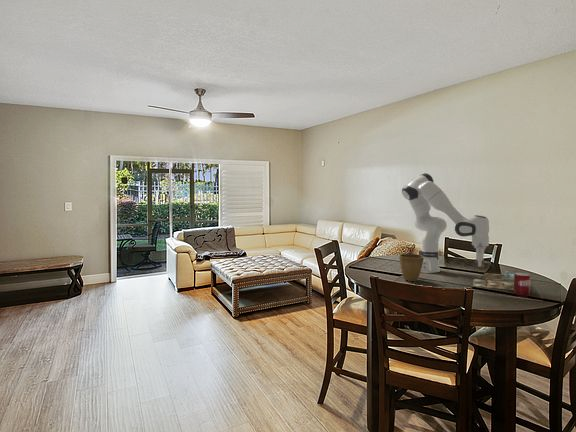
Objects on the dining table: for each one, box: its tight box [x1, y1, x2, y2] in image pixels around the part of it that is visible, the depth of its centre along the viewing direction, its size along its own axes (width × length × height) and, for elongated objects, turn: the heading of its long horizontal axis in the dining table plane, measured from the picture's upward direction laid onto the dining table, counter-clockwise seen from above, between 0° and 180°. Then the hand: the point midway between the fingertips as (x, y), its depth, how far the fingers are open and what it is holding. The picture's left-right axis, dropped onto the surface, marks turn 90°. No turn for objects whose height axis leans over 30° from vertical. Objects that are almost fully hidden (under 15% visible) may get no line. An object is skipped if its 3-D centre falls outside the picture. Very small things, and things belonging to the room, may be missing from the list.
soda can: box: [513, 272, 531, 299], centre depth 181 cm, size 7×7×12 cm
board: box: [472, 272, 514, 291], centre depth 199 cm, size 24×17×6 cm
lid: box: [503, 270, 515, 281], centre depth 195 cm, size 8×14×3 cm, turn 150°
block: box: [474, 258, 485, 269], centre depth 202 cm, size 4×4×4 cm
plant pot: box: [398, 253, 424, 282], centre depth 216 cm, size 15×15×16 cm
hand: (479, 265), depth 202 cm, fingers closed on block, 4 cm apart
